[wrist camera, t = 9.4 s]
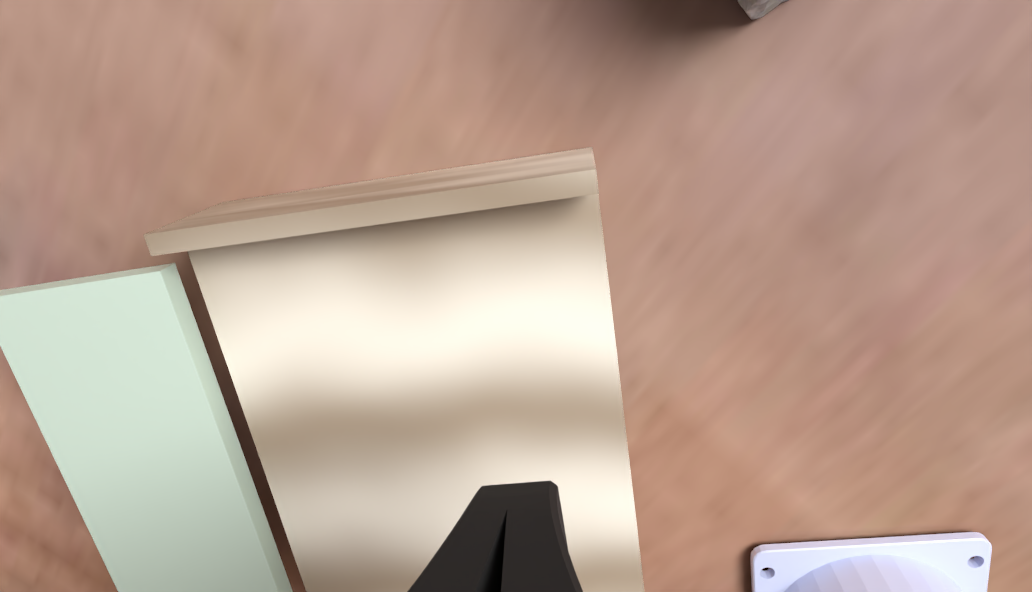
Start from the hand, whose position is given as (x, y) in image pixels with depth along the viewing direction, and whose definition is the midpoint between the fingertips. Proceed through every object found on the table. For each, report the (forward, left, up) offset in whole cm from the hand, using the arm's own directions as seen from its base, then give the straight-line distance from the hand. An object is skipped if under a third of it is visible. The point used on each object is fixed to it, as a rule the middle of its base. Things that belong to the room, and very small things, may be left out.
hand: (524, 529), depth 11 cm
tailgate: (-3, +10, -8) cm, 13 cm away
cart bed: (-3, +4, -10) cm, 12 cm away
